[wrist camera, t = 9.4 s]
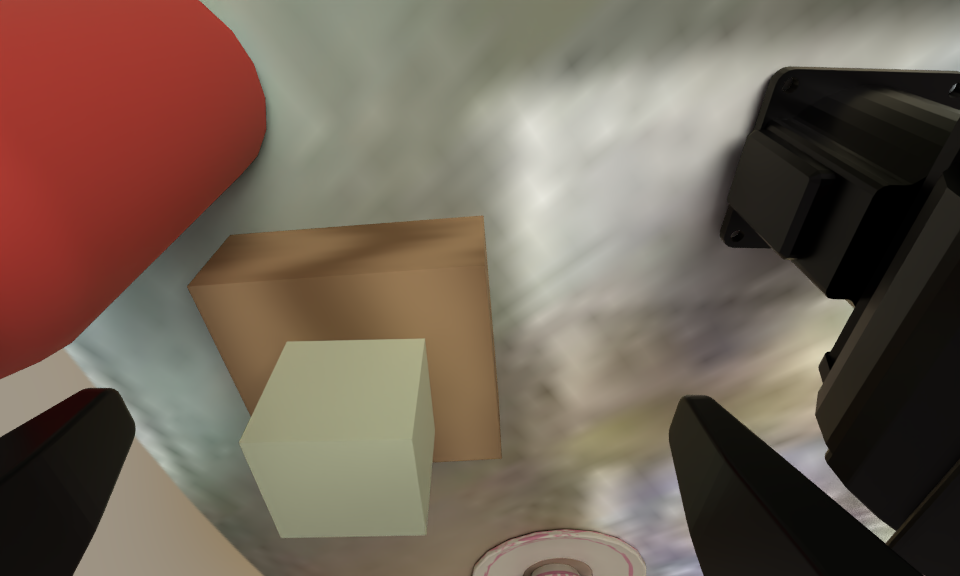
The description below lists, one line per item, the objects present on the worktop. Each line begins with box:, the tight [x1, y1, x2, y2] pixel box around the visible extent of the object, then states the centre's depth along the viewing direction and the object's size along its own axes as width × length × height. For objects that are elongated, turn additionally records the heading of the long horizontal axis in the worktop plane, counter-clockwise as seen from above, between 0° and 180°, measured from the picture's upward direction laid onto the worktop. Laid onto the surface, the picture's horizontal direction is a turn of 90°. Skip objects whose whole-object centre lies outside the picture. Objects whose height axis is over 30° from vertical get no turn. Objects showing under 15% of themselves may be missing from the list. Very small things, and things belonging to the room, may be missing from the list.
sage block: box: [239, 338, 435, 538], centre depth 18 cm, size 5×5×4 cm
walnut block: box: [187, 216, 502, 462], centre depth 21 cm, size 10×10×4 cm
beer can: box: [0, 0, 266, 379], centre depth 12 cm, size 7×7×12 cm
